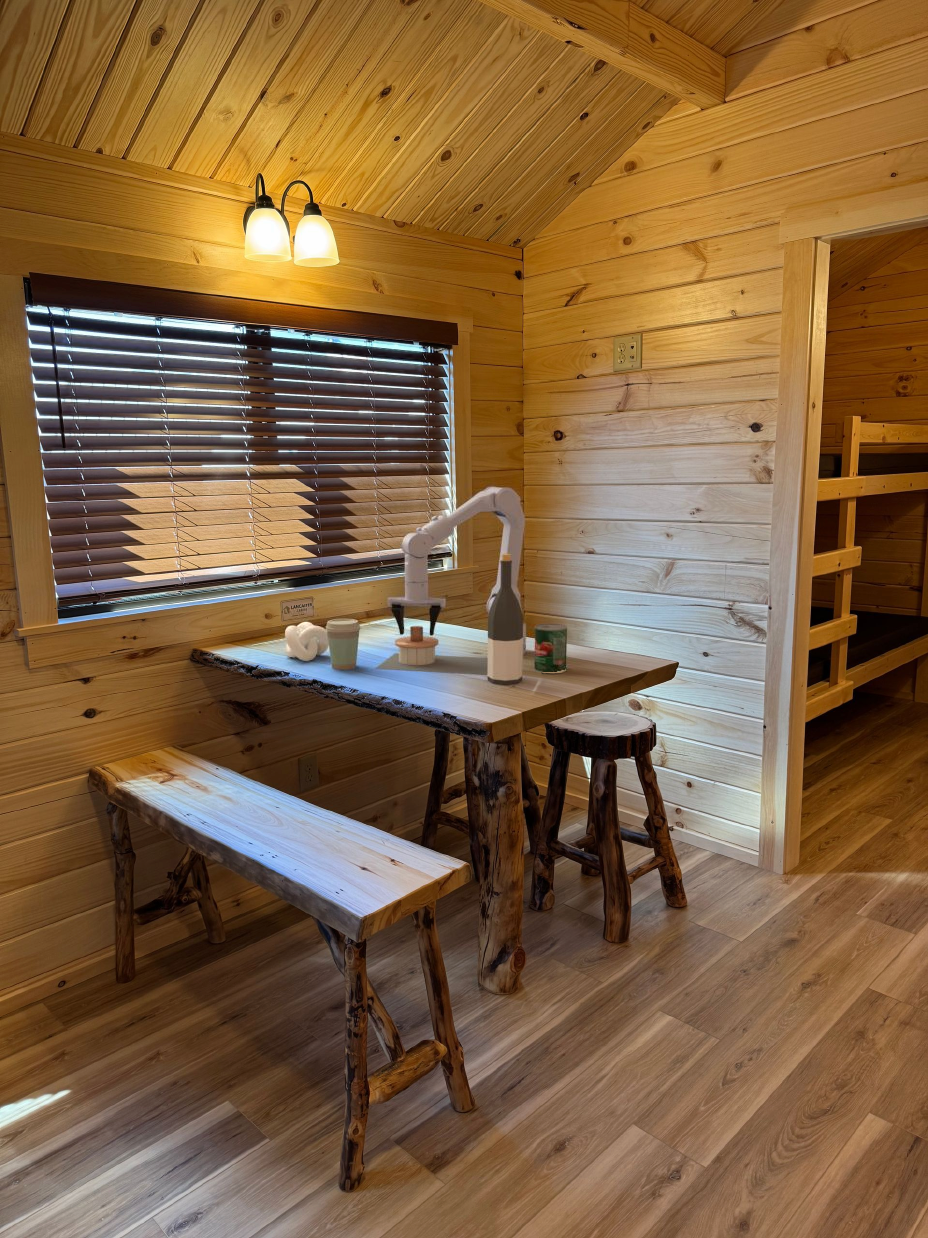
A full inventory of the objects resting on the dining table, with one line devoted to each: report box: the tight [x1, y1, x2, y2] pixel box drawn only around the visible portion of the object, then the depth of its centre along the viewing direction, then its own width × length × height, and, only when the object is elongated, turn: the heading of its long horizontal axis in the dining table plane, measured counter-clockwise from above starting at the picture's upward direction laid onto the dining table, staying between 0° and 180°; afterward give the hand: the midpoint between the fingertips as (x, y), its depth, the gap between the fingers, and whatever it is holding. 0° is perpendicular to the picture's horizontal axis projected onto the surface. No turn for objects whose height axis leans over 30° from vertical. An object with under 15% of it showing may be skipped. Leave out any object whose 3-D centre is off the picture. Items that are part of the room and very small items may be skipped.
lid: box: [394, 625, 439, 649], centre depth 213 cm, size 11×11×4 cm
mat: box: [375, 652, 488, 676], centre depth 211 cm, size 28×17×1 cm, turn 78°
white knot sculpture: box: [284, 621, 329, 662], centre depth 218 cm, size 11×12×9 cm
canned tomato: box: [534, 622, 568, 673], centre depth 206 cm, size 8×8×11 cm
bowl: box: [398, 646, 436, 665], centre depth 214 cm, size 9×9×4 cm
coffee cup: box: [324, 618, 361, 671], centre depth 207 cm, size 8×9×12 cm
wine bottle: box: [487, 554, 524, 686], centre depth 193 cm, size 8×8×30 cm
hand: (416, 634), depth 213 cm, fingers open, 7 cm apart
